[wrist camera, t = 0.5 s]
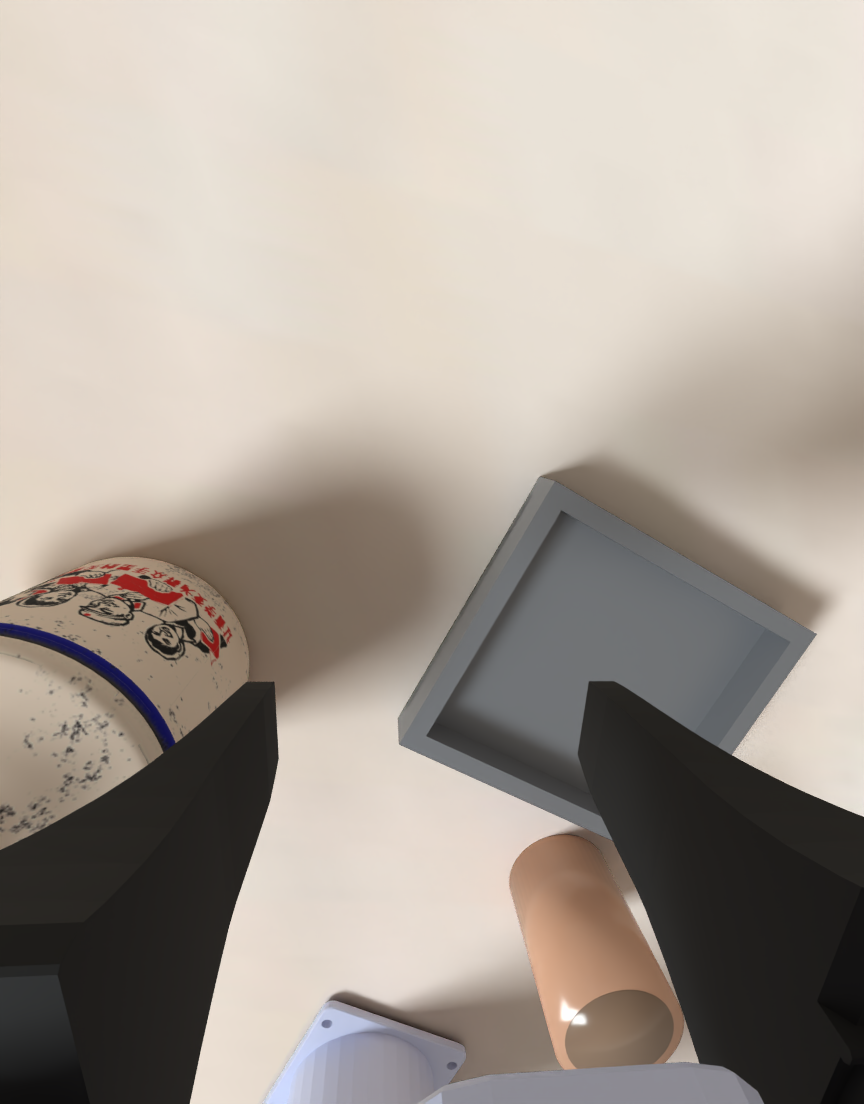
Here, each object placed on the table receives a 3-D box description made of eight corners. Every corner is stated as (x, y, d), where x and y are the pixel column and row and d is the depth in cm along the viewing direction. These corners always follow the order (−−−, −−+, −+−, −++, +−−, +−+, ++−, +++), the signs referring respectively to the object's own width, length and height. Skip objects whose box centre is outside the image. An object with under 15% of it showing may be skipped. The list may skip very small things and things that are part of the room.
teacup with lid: (281, 583, 22) (169, 747, 10) (230, 776, 23) (85, 1100, 12) (-38, 497, 20) (-591, 581, 9) (-69, 713, 22) (-569, 1021, 10)
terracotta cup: (572, 931, 27) (637, 1102, 20) (491, 898, 26) (529, 1064, 19) (624, 856, 26) (709, 1007, 19) (542, 820, 25) (601, 964, 18)
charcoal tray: (635, 828, 26) (656, 860, 24) (397, 718, 23) (399, 744, 21) (781, 617, 24) (816, 634, 22) (539, 476, 22) (555, 480, 20)
